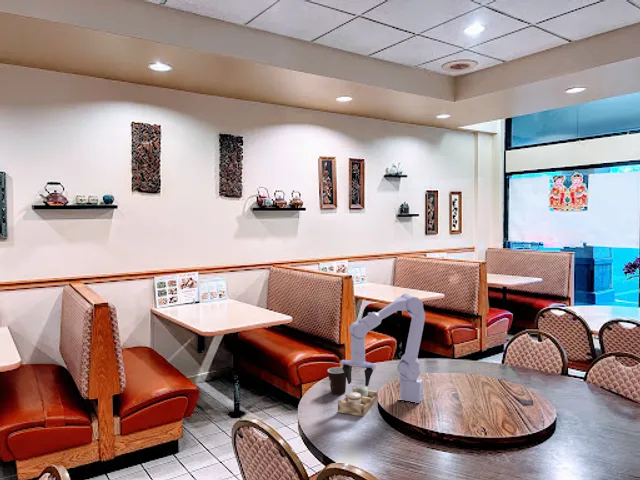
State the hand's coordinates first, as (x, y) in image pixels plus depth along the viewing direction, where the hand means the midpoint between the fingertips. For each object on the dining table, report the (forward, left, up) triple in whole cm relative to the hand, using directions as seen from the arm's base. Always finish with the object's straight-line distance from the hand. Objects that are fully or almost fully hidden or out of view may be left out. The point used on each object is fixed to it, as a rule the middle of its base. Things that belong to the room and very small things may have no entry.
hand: (358, 384), depth 202 cm
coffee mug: (+15, -14, -10) cm, 23 cm away
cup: (0, +3, -9) cm, 9 cm away
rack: (0, -1, -10) cm, 10 cm away
